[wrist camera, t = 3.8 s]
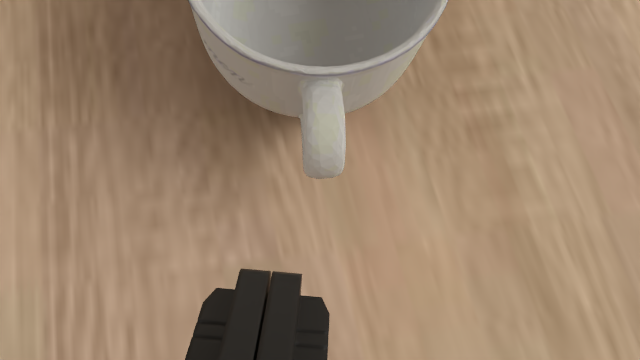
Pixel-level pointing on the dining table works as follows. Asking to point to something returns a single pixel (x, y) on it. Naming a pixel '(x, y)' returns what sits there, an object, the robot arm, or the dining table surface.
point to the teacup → (314, 59)
